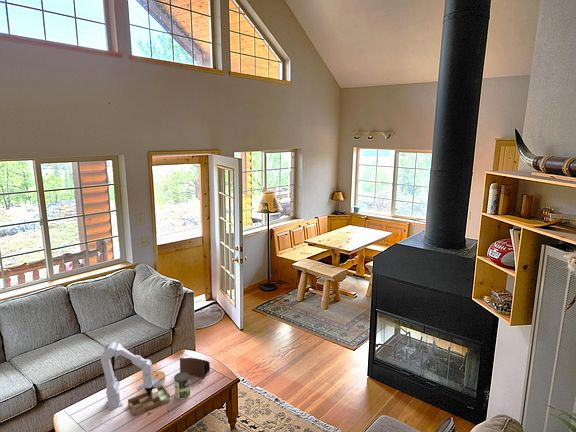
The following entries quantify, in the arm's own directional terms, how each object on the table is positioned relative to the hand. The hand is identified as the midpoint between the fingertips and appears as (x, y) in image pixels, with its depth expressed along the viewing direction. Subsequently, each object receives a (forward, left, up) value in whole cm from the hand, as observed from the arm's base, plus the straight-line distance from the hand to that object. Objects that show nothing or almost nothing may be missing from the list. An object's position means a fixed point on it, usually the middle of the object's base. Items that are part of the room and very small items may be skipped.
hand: (149, 395), depth 261 cm
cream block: (+1, +3, -1) cm, 4 cm away
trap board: (+2, -1, -3) cm, 4 cm away
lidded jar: (-12, +10, -4) cm, 16 cm away
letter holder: (-10, +38, -4) cm, 39 cm away
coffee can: (+8, +20, -4) cm, 22 cm away
